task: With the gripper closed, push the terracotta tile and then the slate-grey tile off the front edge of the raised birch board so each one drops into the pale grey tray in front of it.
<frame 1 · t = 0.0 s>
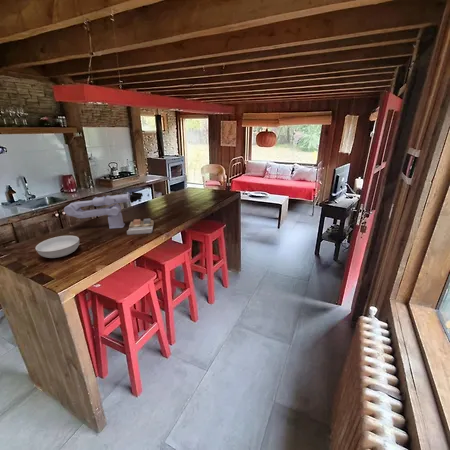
hand: (141, 195, 180), 22 cm above the countertop, tool horizontal, fingers open, 7 cm apart
birch board: (142, 226, 183), on the countertop
grey tray: (140, 231, 174), on the countertop
serving bowl: (60, 253, 144), on the countertop
terracotta tile: (137, 223, 182), point 2 cm above the countertop, touching birch board
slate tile: (147, 222, 183), point 2 cm above the countertop, touching birch board
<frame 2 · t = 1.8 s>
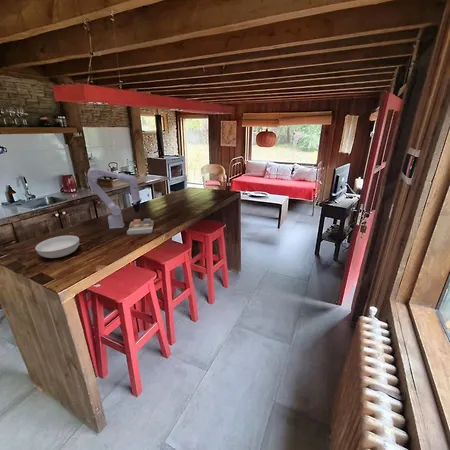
hand: (137, 211, 187), 9 cm above the countertop, tool pointing down, fingers open, 5 cm apart
nothing on the countertop moved.
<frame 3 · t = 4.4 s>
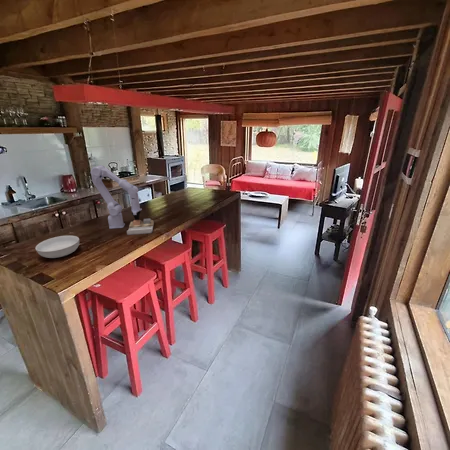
hand: (137, 221, 184), 3 cm above the countertop, tool pointing down, fingers closed
terracotta tile: (137, 224, 181), point 3 cm above the countertop, touching gripper
everything else where it was.
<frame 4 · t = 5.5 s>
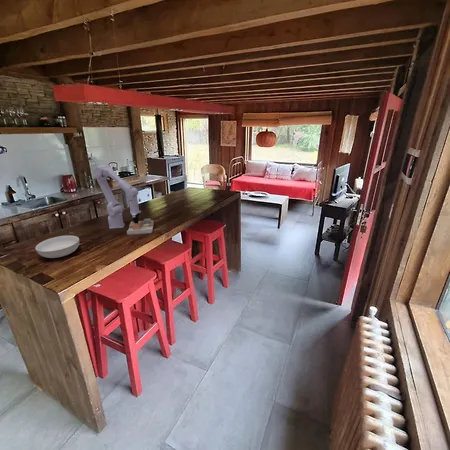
hand: (136, 223, 179), 3 cm above the countertop, tool pointing down, fingers closed
terracotta tile: (136, 226, 176), point 3 cm above the countertop, tilted 91°, touching grey tray
everything else where it was.
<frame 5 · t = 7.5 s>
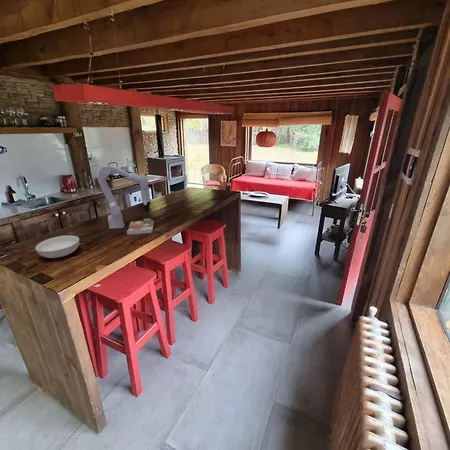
hand: (147, 211, 189), 8 cm above the countertop, tool pointing down, fingers closed
nothing on the countertop moved.
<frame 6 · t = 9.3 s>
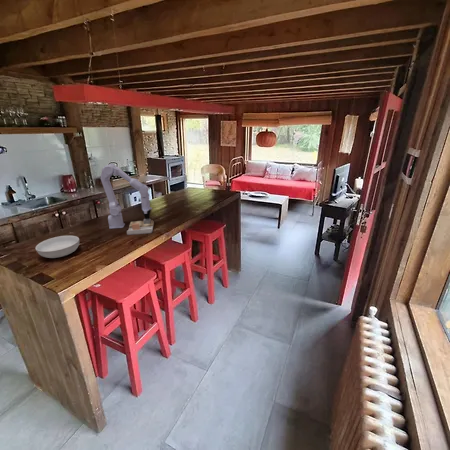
hand: (147, 220, 186), 3 cm above the countertop, tool pointing down, fingers closed
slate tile: (147, 222, 183), point 3 cm above the countertop, touching birch board, gripper
everything else where it was.
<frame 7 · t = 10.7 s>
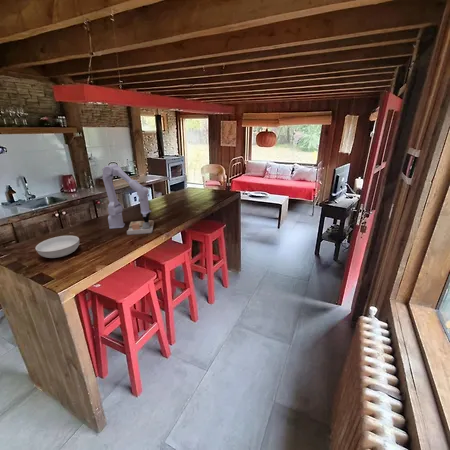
hand: (146, 223, 180), 3 cm above the countertop, tool pointing down, fingers closed
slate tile: (146, 227, 178), point 2 cm above the countertop, tilted 30°, touching birch board, grey tray
everything else where it was.
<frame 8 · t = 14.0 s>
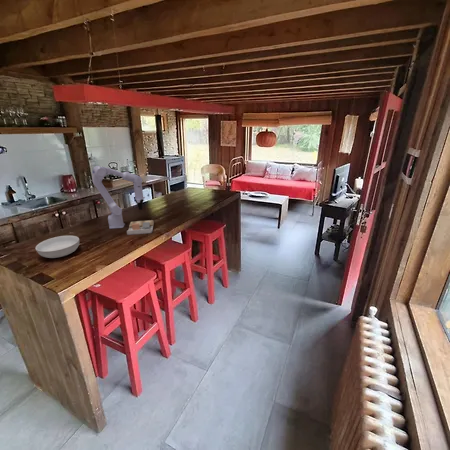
hand: (140, 209, 191), 9 cm above the countertop, tool pointing down, fingers closed
nothing on the countertop moved.
at the end: terracotta tile inside the target area (4.4 cm from its centre), point 2.7 cm above the countertop; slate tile inside the target area (5.3 cm from its centre), point 1.6 cm above the countertop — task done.
